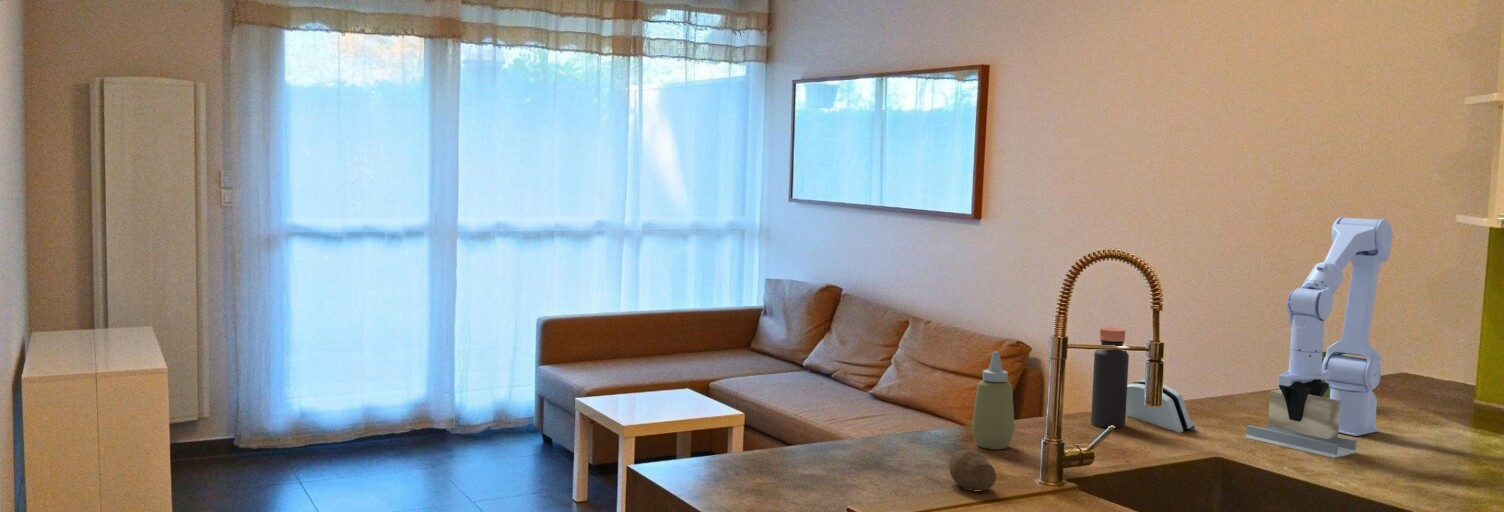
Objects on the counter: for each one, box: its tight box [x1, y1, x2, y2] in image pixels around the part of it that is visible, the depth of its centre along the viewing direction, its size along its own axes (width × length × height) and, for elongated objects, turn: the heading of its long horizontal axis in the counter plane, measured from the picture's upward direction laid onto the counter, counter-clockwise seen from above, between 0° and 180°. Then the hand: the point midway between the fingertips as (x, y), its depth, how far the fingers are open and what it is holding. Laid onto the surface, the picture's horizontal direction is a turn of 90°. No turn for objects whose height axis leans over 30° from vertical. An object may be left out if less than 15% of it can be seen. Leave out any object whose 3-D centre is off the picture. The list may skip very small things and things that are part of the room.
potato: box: [948, 449, 997, 491], centre depth 190 cm, size 7×10×6 cm
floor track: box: [1245, 421, 1358, 459], centre depth 226 cm, size 8×18×2 cm, turn 35°
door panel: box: [1267, 389, 1341, 439], centre depth 225 cm, size 4×12×7 cm, turn 35°
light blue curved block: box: [1126, 379, 1198, 433], centre depth 242 cm, size 17×5×10 cm, turn 20°
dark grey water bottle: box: [1090, 327, 1130, 429], centre depth 238 cm, size 7×7×20 cm
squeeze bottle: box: [971, 351, 1015, 450], centre depth 218 cm, size 8×8×18 cm
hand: (1301, 419), depth 226 cm, fingers closed on door panel, 4 cm apart
